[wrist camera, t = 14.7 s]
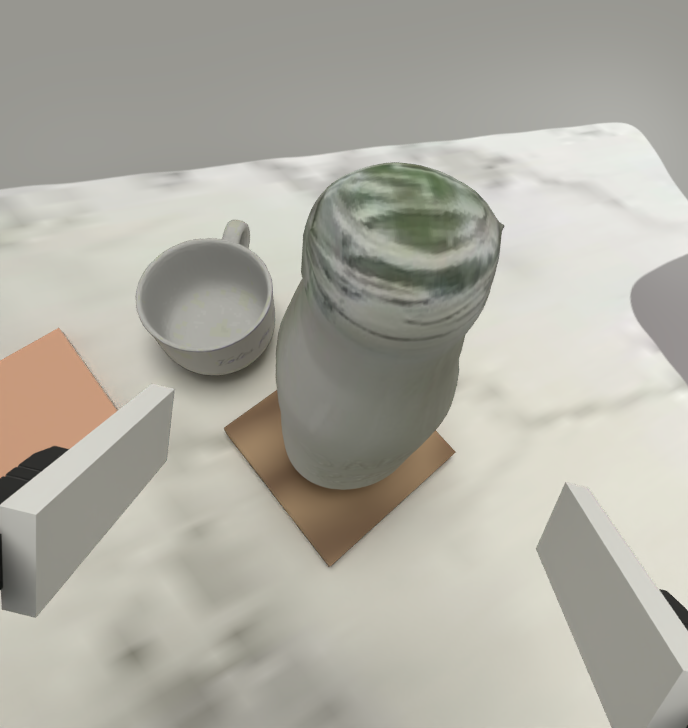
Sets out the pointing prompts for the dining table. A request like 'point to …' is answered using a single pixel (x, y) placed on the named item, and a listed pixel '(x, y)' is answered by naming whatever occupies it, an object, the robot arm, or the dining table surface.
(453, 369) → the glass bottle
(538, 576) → the dining table surface
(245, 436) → the walnut board
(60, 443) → the terracotta tile
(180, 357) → the teacup
